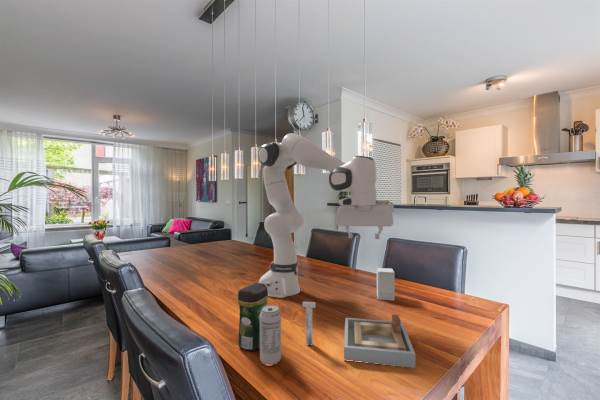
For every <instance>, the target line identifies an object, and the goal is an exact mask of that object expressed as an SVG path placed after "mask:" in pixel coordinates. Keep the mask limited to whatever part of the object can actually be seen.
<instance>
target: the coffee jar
mask: <svg viewBox="0 0 600 400" xmlns="http://www.w3.org/2000/svg"><path fill="white" fill-rule="evenodd" d="M268 297H269V296H268V291H267V287H266V285H265V284H262V283H259V282H257V281H256V282H254V283H252V284H249V285H247V286H245V287H243V288H241V289H238V291H237V303H238V306H239V320H238V321H239V322H238V323H239V324H238V343H237V344H238V346H239V347H240V348H241V349H242V348H243V349H242V350H244V351H257V350H258V349H260V313H261V311H262V308H263V307H264V306H267V305H268V299H269V298H268ZM256 349H257V350H256Z"/></svg>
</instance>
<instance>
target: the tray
mask: <svg viewBox="0 0 600 400" xmlns="http://www.w3.org/2000/svg"><path fill="white" fill-rule="evenodd" d="M344 319H345V321H344V343H343V360H344V359H346V360H353V361H362V362H368V363H378V364H385V365H395V366H402V367H401V368H404V367H411V368H410V369H414V368H415V369H416V352H415V350H414V348H413V345H412V342H411V339H410V337H409V335H408V332H407V330H406V327H405V326H404V322H403V321H401V324H400V333H401V336H402V339H403V341H404V344H405V347H406V351H399V350H389V349H378V348H367V347H357V346H355V338H354V322H366V323H379V324H392V320H380V319H369V318H368V319H367V318H356V317H353V318H352V317H345V318H344ZM361 337H362V341H373V342H385V343H394V341H393V338H392V336H381V335H369V334H361ZM385 365H384V366H385Z"/></svg>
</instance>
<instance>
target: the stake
mask: <svg viewBox="0 0 600 400" xmlns="http://www.w3.org/2000/svg"><path fill="white" fill-rule="evenodd" d="M316 306H317V304H316V301H302V308H305V345H306V344H308V345H311V344H312V345H313V309H314V308H315V309H316Z"/></svg>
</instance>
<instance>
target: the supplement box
mask: <svg viewBox="0 0 600 400" xmlns="http://www.w3.org/2000/svg"><path fill="white" fill-rule="evenodd" d="M395 283H396V282H395V271H394V270H393V268H391V267H390V268H386V267H384V268H383V267H376V297H377V300H383V301H393V302H394V301H395V299H396V298H395V297H396V296H395V292H396V291H395V290H396V289H395V285H396V284H395Z"/></svg>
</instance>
